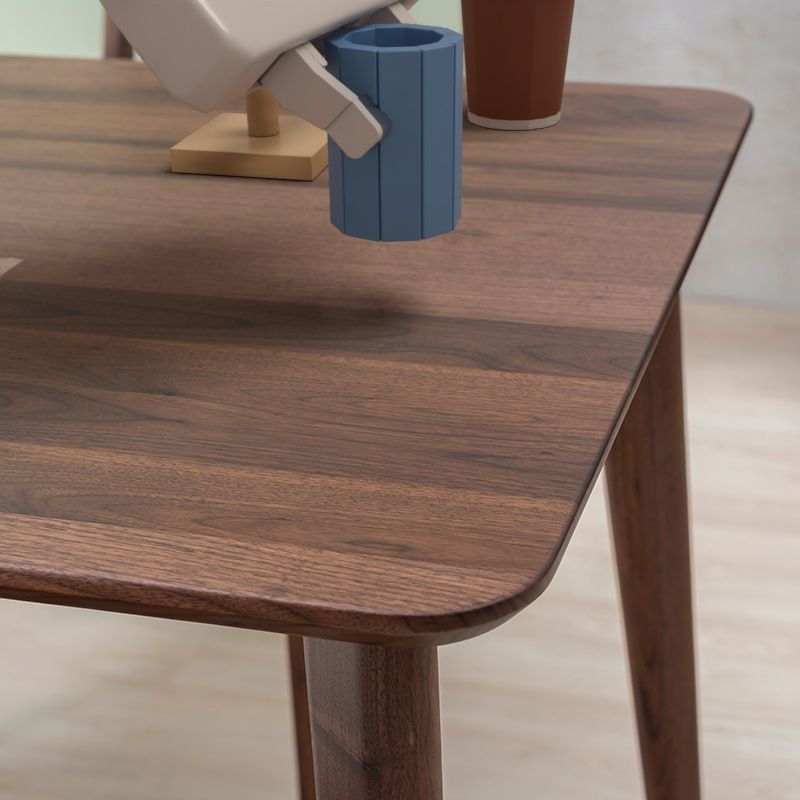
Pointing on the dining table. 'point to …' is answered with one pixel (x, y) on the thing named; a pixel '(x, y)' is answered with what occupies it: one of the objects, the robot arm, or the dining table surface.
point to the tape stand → (254, 144)
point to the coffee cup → (516, 61)
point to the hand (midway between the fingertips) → (408, 123)
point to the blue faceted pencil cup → (400, 132)
